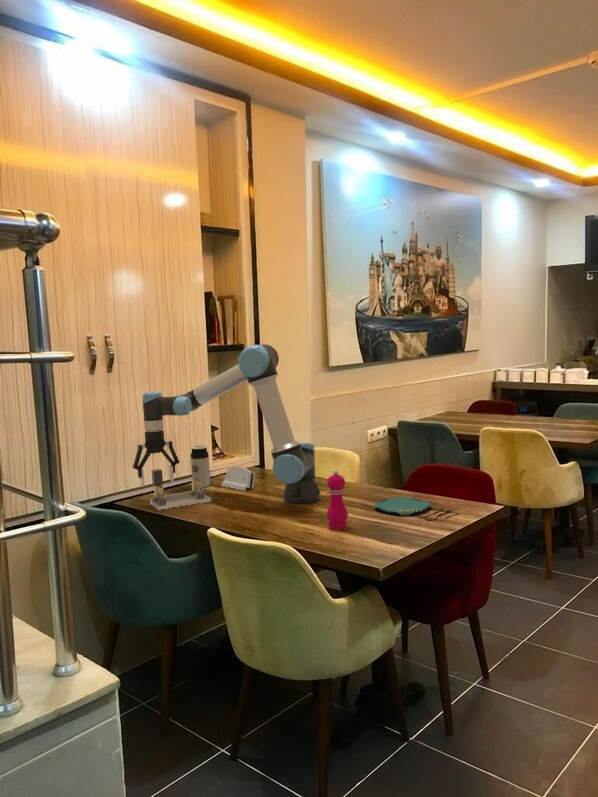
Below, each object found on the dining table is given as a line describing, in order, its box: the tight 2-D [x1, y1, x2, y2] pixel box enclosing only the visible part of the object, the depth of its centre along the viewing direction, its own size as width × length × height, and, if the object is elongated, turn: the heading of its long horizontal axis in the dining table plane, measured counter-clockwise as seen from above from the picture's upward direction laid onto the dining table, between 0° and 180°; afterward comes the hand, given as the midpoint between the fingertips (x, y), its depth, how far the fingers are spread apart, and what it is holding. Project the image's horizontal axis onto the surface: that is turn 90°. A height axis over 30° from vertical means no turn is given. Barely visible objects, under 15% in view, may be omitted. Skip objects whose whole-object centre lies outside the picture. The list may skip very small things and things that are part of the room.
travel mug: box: [190, 444, 211, 488], centre depth 289 cm, size 8×8×18 cm
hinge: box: [221, 466, 256, 492], centre depth 285 cm, size 17×5×10 cm, turn 46°
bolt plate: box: [149, 478, 212, 511], centre depth 261 cm, size 22×12×8 cm, turn 118°
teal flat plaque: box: [373, 496, 432, 516], centre depth 236 cm, size 20×30×2 cm, turn 42°
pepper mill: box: [326, 469, 349, 531], centre depth 219 cm, size 7×7×20 cm
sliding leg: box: [151, 468, 164, 497], centre depth 258 cm, size 4×8×11 cm, turn 28°
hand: (157, 483), depth 260 cm, fingers open, 11 cm apart
